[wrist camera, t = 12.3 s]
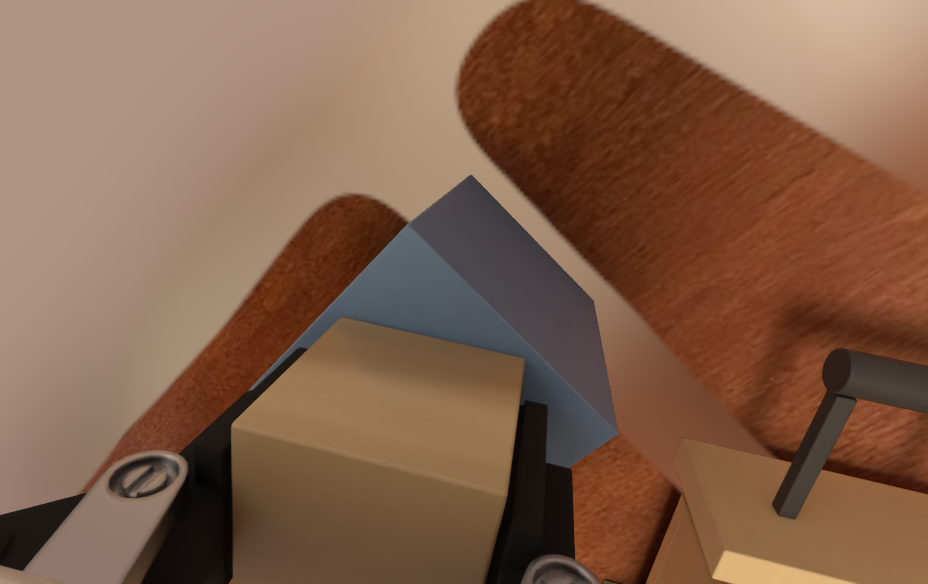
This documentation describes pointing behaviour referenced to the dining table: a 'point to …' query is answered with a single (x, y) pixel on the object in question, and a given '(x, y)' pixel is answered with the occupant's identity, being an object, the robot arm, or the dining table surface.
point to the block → (375, 462)
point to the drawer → (801, 500)
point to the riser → (490, 310)
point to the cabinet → (608, 583)
